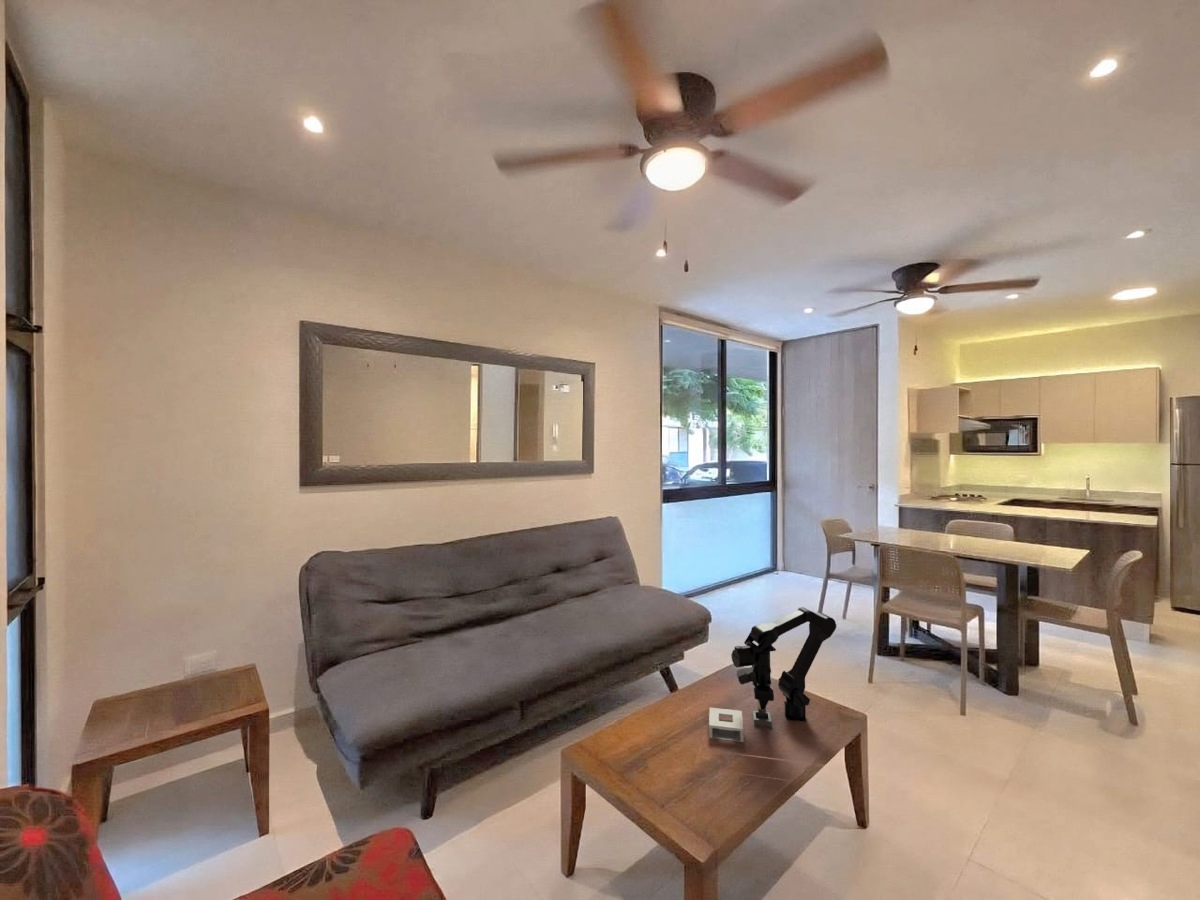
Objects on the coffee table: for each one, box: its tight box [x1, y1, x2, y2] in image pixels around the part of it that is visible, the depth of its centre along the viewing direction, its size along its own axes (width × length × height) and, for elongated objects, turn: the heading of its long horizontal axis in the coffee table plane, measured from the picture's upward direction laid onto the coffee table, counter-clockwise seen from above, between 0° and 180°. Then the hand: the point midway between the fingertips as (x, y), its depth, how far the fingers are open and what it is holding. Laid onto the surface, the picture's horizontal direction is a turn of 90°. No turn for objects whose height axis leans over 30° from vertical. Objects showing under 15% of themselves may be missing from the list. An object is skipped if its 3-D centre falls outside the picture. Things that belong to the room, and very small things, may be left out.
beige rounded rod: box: [757, 700, 767, 717], centre depth 174 cm, size 3×3×8 cm
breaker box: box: [708, 707, 744, 743], centre depth 169 cm, size 11×11×5 cm
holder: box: [752, 710, 773, 728], centre depth 174 cm, size 6×6×2 cm
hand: (762, 707), depth 174 cm, fingers closed on beige rounded rod, 3 cm apart
